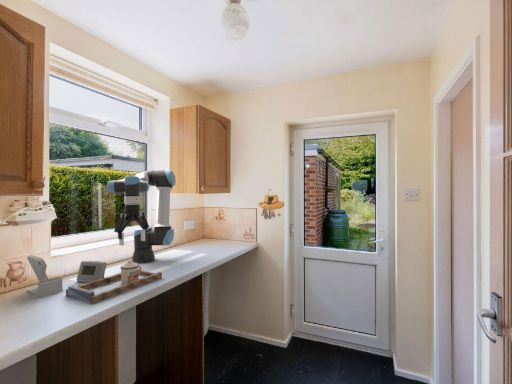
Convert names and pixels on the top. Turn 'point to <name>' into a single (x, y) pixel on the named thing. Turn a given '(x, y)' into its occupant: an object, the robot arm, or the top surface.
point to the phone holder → (43, 279)
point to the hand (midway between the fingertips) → (132, 243)
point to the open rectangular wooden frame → (88, 296)
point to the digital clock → (91, 271)
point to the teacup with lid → (130, 272)
